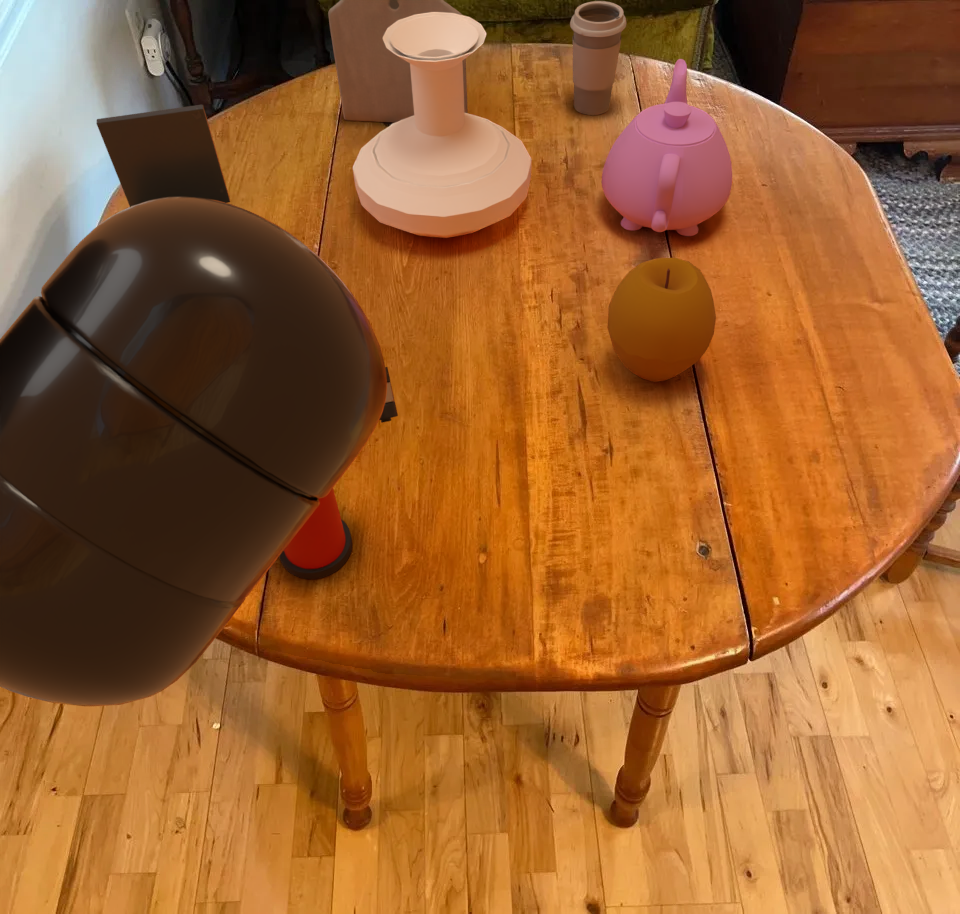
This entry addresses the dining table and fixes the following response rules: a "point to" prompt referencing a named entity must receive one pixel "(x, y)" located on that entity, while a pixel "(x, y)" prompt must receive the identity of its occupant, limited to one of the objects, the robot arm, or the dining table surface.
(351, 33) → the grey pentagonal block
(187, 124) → the box lid
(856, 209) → the dining table surface
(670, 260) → the apple
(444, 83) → the candle holder
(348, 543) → the black coaster
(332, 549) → the sauce bottle
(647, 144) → the teapot
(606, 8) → the cup
